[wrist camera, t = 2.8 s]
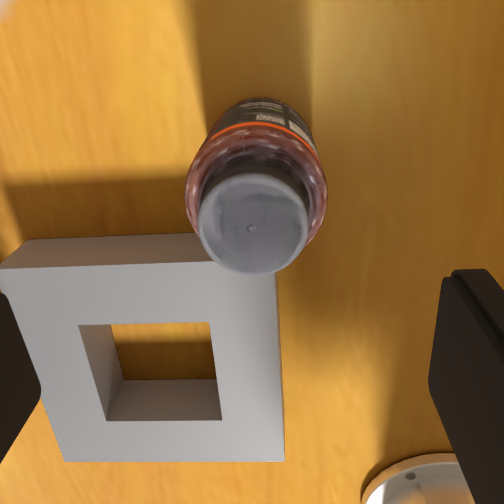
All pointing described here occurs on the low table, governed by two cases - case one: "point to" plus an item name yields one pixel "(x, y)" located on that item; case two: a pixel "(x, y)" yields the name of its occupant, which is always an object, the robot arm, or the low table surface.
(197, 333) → the low table surface
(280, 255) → the supplement bottle
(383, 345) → the low table surface
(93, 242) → the socket block
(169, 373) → the low table surface
